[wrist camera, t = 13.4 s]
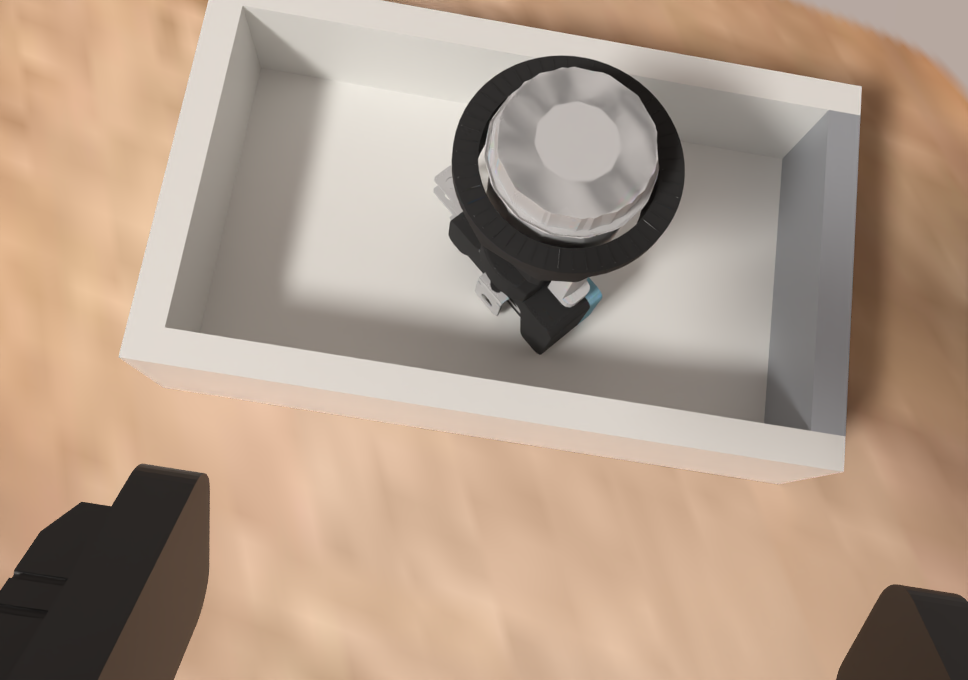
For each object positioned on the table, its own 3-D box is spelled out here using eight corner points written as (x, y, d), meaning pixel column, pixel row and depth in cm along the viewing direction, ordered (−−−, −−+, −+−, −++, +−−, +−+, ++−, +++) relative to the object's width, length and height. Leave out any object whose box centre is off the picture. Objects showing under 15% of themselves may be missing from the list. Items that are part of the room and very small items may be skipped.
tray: (799, 150, 32) (861, 86, 28) (778, 484, 29) (844, 472, 25) (243, 52, 31) (215, -30, 27) (163, 387, 28) (118, 357, 24)
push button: (378, 235, 29) (364, 75, 19) (503, 143, 30) (550, -53, 20) (511, 393, 28) (566, 308, 18) (634, 291, 29) (747, 161, 19)
